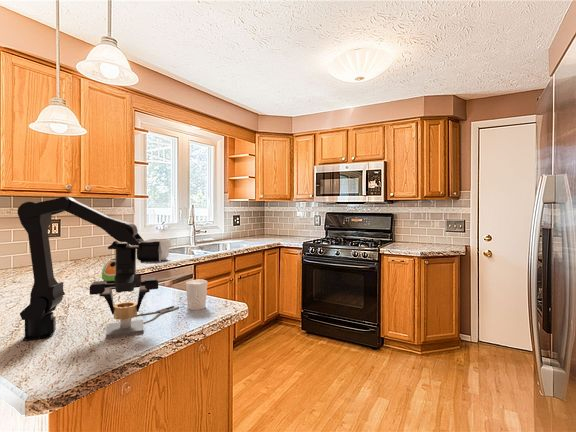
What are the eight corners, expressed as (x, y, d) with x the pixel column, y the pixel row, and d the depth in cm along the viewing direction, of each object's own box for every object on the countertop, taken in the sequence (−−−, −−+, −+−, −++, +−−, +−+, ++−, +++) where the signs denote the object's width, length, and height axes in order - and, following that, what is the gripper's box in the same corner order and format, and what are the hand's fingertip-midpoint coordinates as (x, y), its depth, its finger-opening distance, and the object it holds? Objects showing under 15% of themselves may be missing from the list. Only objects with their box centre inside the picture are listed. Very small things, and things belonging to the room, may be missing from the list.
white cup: (198, 311, 119) (199, 284, 119) (181, 309, 122) (181, 283, 121) (211, 305, 126) (211, 280, 126) (194, 303, 129) (194, 278, 129)
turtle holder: (133, 277, 177) (133, 255, 177) (125, 284, 160) (125, 260, 159) (108, 277, 174) (108, 256, 174) (97, 285, 156) (97, 261, 156)
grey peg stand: (106, 338, 93) (106, 318, 93) (108, 326, 103) (108, 308, 102) (143, 333, 98) (143, 313, 98) (143, 322, 107) (143, 304, 107)
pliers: (118, 320, 107) (159, 303, 126) (118, 323, 107) (159, 306, 126) (142, 324, 104) (180, 306, 123) (142, 326, 104) (180, 308, 123)
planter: (174, 260, 233) (174, 239, 233) (150, 263, 221) (150, 241, 221) (163, 258, 245) (163, 238, 245) (140, 260, 233) (140, 239, 233)
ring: (113, 320, 96) (113, 309, 96) (114, 314, 101) (114, 303, 101) (136, 317, 98) (136, 306, 98) (136, 311, 104) (136, 301, 104)
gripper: (86, 269, 88) (86, 325, 89) (159, 265, 96) (159, 317, 97) (92, 263, 99) (92, 313, 99) (157, 260, 106) (157, 306, 107)
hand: (125, 312), depth 100 cm, fingers closed on ring, 6 cm apart
